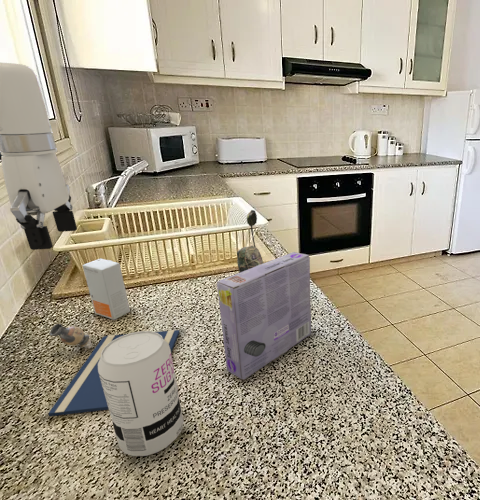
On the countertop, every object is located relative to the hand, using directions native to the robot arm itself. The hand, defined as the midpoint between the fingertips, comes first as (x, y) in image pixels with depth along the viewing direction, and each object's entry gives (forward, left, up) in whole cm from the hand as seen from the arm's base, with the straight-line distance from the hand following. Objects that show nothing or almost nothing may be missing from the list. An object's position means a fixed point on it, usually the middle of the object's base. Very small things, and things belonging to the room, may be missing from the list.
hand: (55, 239), depth 69 cm
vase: (+2, -7, -20) cm, 21 cm away
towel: (+13, -14, -20) cm, 28 cm away
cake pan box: (+39, -13, -20) cm, 46 cm away
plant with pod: (+35, +13, -20) cm, 42 cm away
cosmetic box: (+4, +6, -20) cm, 21 cm away
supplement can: (+22, -30, -20) cm, 42 cm away
